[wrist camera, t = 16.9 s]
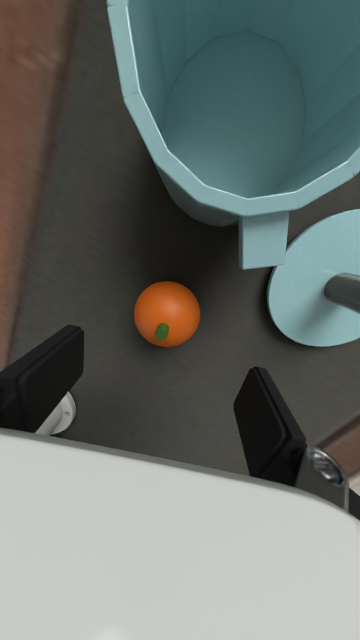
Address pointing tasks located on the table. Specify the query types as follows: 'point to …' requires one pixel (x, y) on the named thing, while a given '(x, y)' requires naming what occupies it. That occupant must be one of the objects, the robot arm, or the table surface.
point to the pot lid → (319, 283)
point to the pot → (243, 106)
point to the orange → (167, 314)
